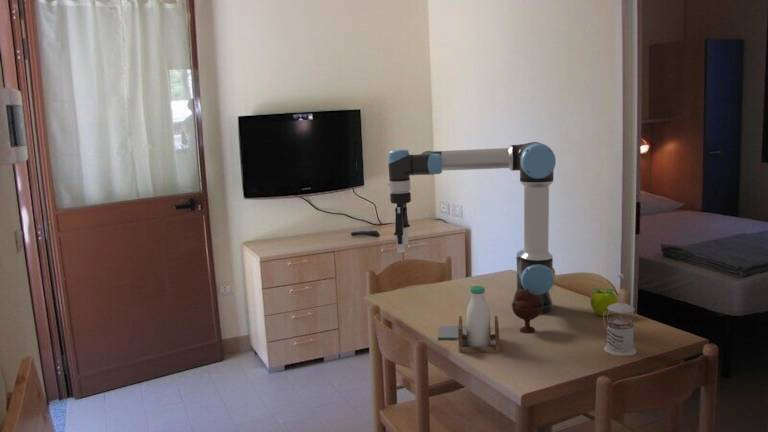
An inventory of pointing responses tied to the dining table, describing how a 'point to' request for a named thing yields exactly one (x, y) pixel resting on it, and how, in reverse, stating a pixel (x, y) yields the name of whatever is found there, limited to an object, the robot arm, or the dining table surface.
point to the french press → (620, 330)
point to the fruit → (602, 301)
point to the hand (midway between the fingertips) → (403, 248)
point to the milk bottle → (478, 319)
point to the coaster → (450, 333)
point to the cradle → (479, 349)
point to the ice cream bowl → (527, 308)
